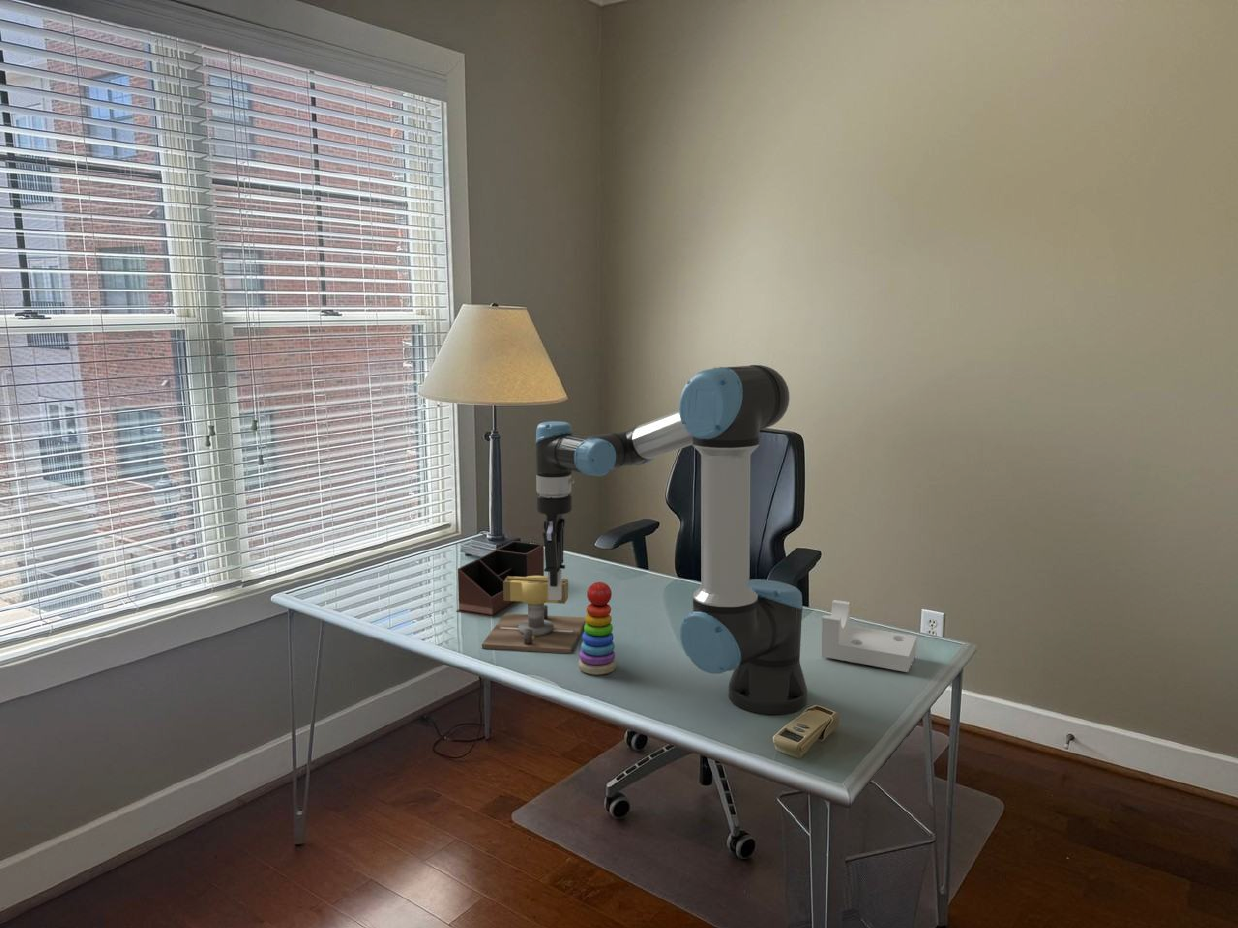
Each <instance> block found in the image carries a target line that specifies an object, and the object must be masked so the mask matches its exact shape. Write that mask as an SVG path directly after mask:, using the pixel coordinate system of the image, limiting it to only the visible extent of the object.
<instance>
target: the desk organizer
mask: <svg viewBox="0 0 1238 928" xmlns="http://www.w3.org/2000/svg"><path fill="white" fill-rule="evenodd" d="M544 559H545V545H544V544H542V543H533V542H524V541H518V540H517V541H515V540H512V541H510V542H508V543H506V544H505V545H501V546H500V547H498V548H496V549H494V550H493V551H490V552H489V553H486V554H485V555H482V556H481V557H479V558H476V559H474V560H472V561H471V562H469V563H467V564H465V565H462V566H461V567H459V568H457V589H458V591H457V592H458V594H457V595H458V609H456V611H455V612H456V613H461V614H467V615H474V616H482V617H488V618H494V617H496V616H498V615H499V614H501V613H502V612H504V611H505V610H507V609H508V608H511V607H512V606H513V605H514V604H516V603H518V602H519V601H503V581H504V580H505V579H506V578H507V576H514V577H528V576H545V571H544V569H545V567H544V566H545V564H544V563H545V561H544Z"/></svg>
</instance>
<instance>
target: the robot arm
mask: <svg viewBox="0 0 1238 928" xmlns="http://www.w3.org/2000/svg"><path fill="white" fill-rule="evenodd" d="M789 405H790V392H789V386H788V383H787V382H786V379H784V377H783V376H782V375H781V374H780V373H779V372H778V371H776V370H775V369H773V368H772V367H769V366H766V365H761V364H751V365H741V366H737V365H736V366H718V367H713V368H710V369H704V370H701V371H698V372H697V373H695V374H693V375H692V376H691V377H690V379H689V380H687V382H686V383H685V385H684V386H683V388H682V390H681V393H680V397H679V400H678V410H675V411H672V412H670V413H667V414H665V415H662V416H659V417H657V418H656V419H653V420H651V421H648V422H645V423H643V424H639V425H638V426H635V427H633V428H629V429H627V430H624V431H619V432H611V433H606V434H596V435H589V436H588V435H587V436H586V435H585V436H584V435H576V434H573V431H572V425H571V423H569V422H566V421H558V420H557V421H553V420H552V421H544V422H541V423H538V425H537V427H536V435H535V442H534V443H535V451H536V452H535V455H536V457H535V458H536V459H535V461H536V463H535V464H536V466H535V467H536V470H535V471H536V475H535V479H536V484H535V485H536V486H535V490H536V492H537V495H536V510H537V512H538V513H539V514H542V515H544V516H546V517H545V518H546V519H545V521H543V529H544V531H543V533H542V537H543V542H544V544H543V545H544V559H545V561H544V562H545V567H544V573H545V572H546V573H547V577H548V600H561V598H562V579H563V578H562V575H563V573H562V570H565V569H566V564H563V563H564V551H565V549H564V547H565V545H564V543H565V525H566V519H565V518H563V515H566V514H569V513H570V512H572V509H573V507H572V505H573V504H572V502H573V499H572V494H570V493H571V492H572V484H574V483H575V479H574V478H571V477H572V473H573V472H574V473H579V474H584V475H587V476H590V477H592V476H596V477H604V476H606V475H608V474H609V472H611V471H612V470H614V469H620V468H625V467H630V466H640V465H645V464H646V463H647V464H648V463H650V462H651V461H653V460H654V458H658V457H660V456H664V455H667V454H669V453H672V452H676V451H677V450H681V449H683V448H687V447H690V446H692V447H693V448H694V449H695V450H696V451H698V452H699V454H700V455H701V457H700V462H701V463H700V465H701V466H700V473H701V474H700V478H701V479H700V482H701V483H700V485H701V486H700V493H701V495H700V500H701V501H700V502H701V504H700V507H701V508H700V513H701V516H700V518H701V520H700V523H701V524H700V525H701V526H700V528H701V529H700V531H701V533H700V535H701V536H700V539H701V542H700V543H701V544H700V545H701V549H700V551H701V553H700V555H701V557H700V559H701V560H700V561H701V566H700V567H701V569H700V571H701V572H700V573H701V581H700V583H701V584H700V586H698V587H697V589H696V590H695V591H693V594H692V612H689V613H688V614H687V615H686V616H685V618H684V619H683V620H682V621H681V623H680V627H679V628H680V629H679V637H680V643H681V646H682V649H683V651H684V652H685V654H686V656H688V658H689V659H690V661H691V662H692V663H693V665H695V666H696V667H697V668H698V669H700V670H701V671H703V672H705V673H709V674H713V675H717V674H718V675H719V674H723V673H725V672H730V671H733V672H732V675H731V676H730V679H729V682H728V694H727V695H728V698H729V700H730V701H731V703H733V704H734V705H735V706H737V707H739V708H741V709H743V710H744V711H745V710H746V711H749V712H752V713H755V714H762V715H786V714H792V713H794V712H795V713H796V712H797V711H800V710H801V709H803V708H805V706H806V705H807V703H808V686H807V684H806V680H805V676H804V672H803V670H802V667H801V662H800V657H801V639H802V638H801V637H802V620H803V610H804V607H803V595H802V592H801V591H800V590H799V588H797V587H796V586H795V585H792V584H789V583H786V582H783V581H777V580H772V579H771V580H769V579H761V578H759V579H757V578H756V579H753V578H752V579H750V572H751V571H750V564H751V563H750V561H751V560H750V554H751V553H750V552H751V551H750V549H751V548H750V547H751V541H750V540H751V537H750V536H751V535H750V534H751V455H752V454H753V453H754V451H756V449H758V448H759V447H760V431H761V430H763V429H767V428H770V427H772V426H774V425H776V424H777V423H778V422H779V421H781V419H783V418H784V415H785V414H786V413H787V411H788V407H789Z"/></svg>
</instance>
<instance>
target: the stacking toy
mask: <svg viewBox="0 0 1238 928" xmlns="http://www.w3.org/2000/svg"><path fill="white" fill-rule="evenodd" d="M612 594H613V593H612V589H611V587H610V586H609V585H608V584H607V583H606V582H603V581H595V582H593V583H592V584H590V585H589V587H588V589H587V593H586V596H587V599H588V602H589V603H590V604H588V605H587V607H586V612H587V614H586V615H585V621H586V624H585V626H584V628H583V629H584V630H583V631H584V632H583V633H582V643H581V645H580V648H581V649H580V651H579V654H578V656H579V660H578V665H577V666H578V668H579V670H581V672H583V673H586V674H589V675H594V676H595V675H598V676H599V675H605V674H606V675H607V674H609V673H612V672H614V670H615V669H616V668H617V661H616V652H615V647H616V646H615V642H614V633H612V632H613V629H614V627H613V624H612V621H613V619H612V615H611V612H612V607H611V605H609V604H608V603H609V602H610V601H611V600H612Z"/></svg>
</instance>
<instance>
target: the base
mask: <svg viewBox="0 0 1238 928" xmlns="http://www.w3.org/2000/svg"><path fill="white" fill-rule="evenodd" d="M527 612H528V614H525V613H524V614H523V613H510V612H509V613H506V612H505V613H504V615H502V617H501V618H500V620H499V621H498V622H497V624H496V625H495V626H494V628H492V629H491V632H490V633H489V634H488V636H486V638H485V639H484V641H483V642H482V643H481V649H486V650H501V651H502V650H503V651H504V650H505V651H522V652H536V653H538V652H540V653H554V654H555V653H557V654H572V652H573V650H574V648H575V646H576V644H577V642H578V640H579V637H580V636H581V634H582V631H584V630H583V629H584V626H585V624H586V621H585V617H586V616H585V617H582V616H564V615H562V616H561V615H548V614H549V613H548V605H547V604H545V603H543V604H527Z"/></svg>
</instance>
